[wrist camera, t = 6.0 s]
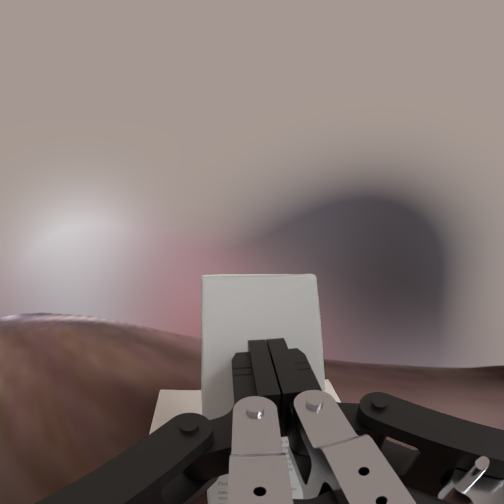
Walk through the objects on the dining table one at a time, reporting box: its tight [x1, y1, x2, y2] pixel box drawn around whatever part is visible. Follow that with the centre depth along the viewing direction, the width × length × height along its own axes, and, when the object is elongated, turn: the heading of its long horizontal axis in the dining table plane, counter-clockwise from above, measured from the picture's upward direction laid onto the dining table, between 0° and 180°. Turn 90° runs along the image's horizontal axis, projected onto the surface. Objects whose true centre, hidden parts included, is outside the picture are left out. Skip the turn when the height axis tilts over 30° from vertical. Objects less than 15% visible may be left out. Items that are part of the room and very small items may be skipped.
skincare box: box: [201, 274, 325, 504], centre depth 14 cm, size 8×6×15 cm
